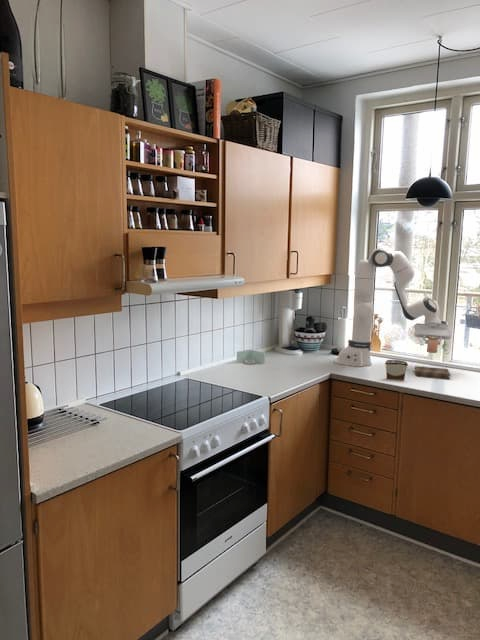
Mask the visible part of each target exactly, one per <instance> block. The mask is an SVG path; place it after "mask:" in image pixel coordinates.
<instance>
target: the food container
mask: <svg viewBox="0 0 480 640" xmlns="http://www.w3.org/2000/svg"><path fill="white" fill-rule="evenodd" d="M384 365H385V371H386V372H385V375H386V380H392V381H405V378H406V374H407V367H409V364H408V362H407V361H405V360H401V359H387V360H386V361H385V363H384Z"/></svg>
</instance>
